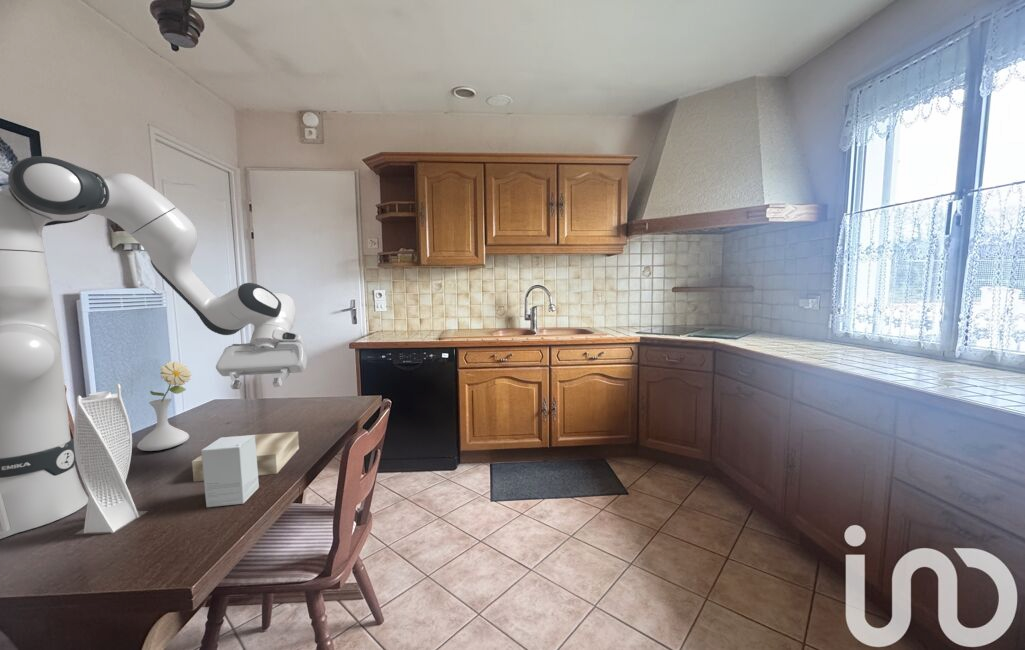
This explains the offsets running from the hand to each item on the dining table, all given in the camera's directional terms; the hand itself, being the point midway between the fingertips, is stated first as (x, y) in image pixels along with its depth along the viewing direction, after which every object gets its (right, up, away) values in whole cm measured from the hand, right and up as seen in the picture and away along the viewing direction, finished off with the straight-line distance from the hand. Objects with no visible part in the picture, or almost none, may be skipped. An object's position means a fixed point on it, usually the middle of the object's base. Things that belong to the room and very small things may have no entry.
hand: (256, 386), depth 95 cm
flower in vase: (-38, -21, +17) cm, 47 cm away
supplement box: (+3, -23, -12) cm, 26 cm away
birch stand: (-5, -21, +5) cm, 22 cm away
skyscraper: (-13, -24, -21) cm, 35 cm away
